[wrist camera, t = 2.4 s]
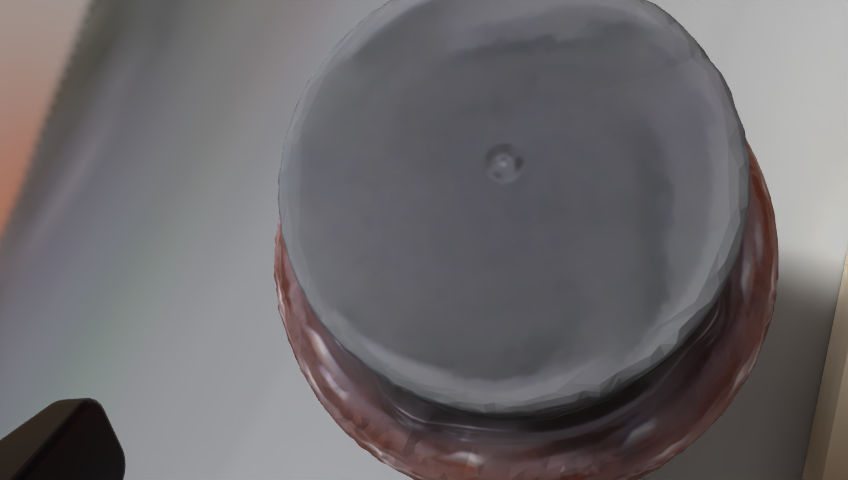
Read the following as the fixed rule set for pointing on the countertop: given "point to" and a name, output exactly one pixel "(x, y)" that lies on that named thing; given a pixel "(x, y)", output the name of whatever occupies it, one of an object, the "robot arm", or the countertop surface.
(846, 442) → the birch board
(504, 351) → the supplement bottle
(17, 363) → the countertop surface
